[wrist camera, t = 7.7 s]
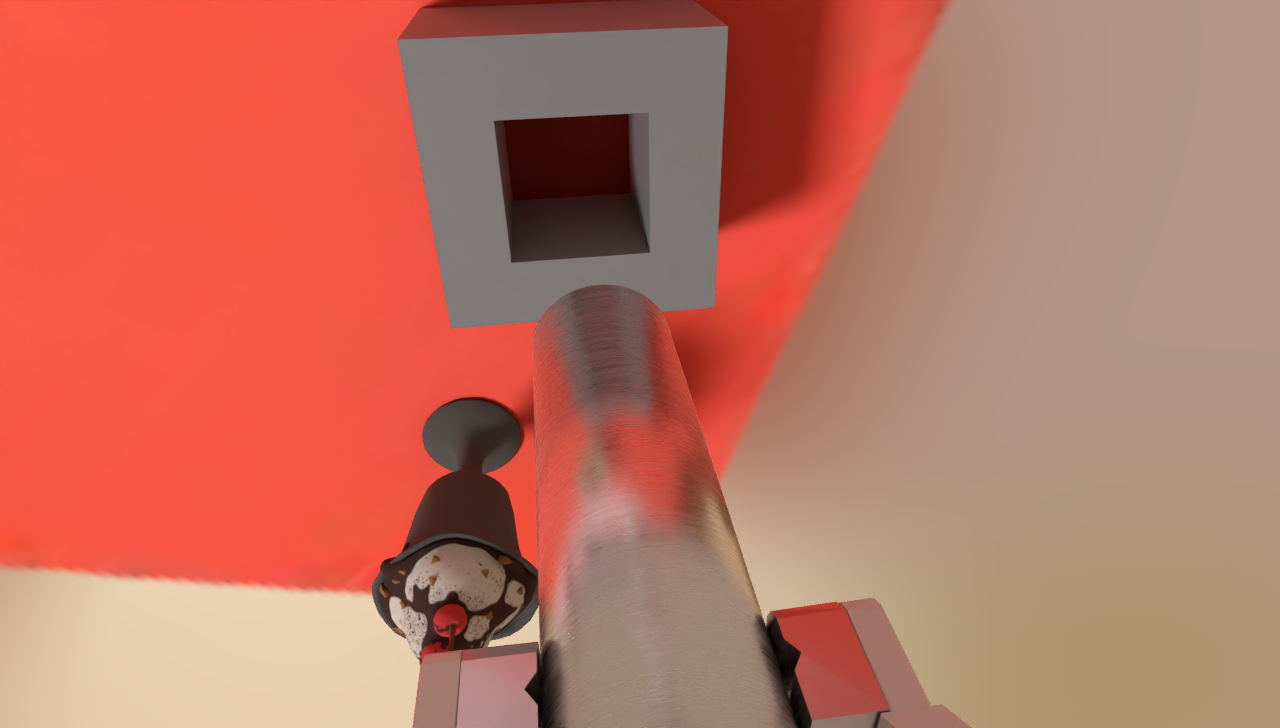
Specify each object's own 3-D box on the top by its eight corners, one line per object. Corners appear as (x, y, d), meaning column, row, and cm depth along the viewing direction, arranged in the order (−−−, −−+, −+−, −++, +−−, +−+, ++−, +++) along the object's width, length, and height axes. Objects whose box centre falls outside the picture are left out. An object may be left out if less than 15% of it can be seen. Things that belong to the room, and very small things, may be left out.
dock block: (420, 7, 27) (397, 39, 22) (691, -2, 28) (728, 26, 23) (461, 258, 32) (451, 328, 27) (686, 242, 33) (714, 307, 28)
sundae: (461, 360, 35) (428, 624, 23) (563, 431, 38) (583, 697, 26) (376, 441, 37) (305, 725, 25) (480, 502, 40) (463, 780, 28)
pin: (525, 290, 16) (533, 977, 6) (670, 279, 16) (903, 913, 6) (539, 407, 18) (562, 1084, 8) (670, 395, 18) (851, 1030, 8)
